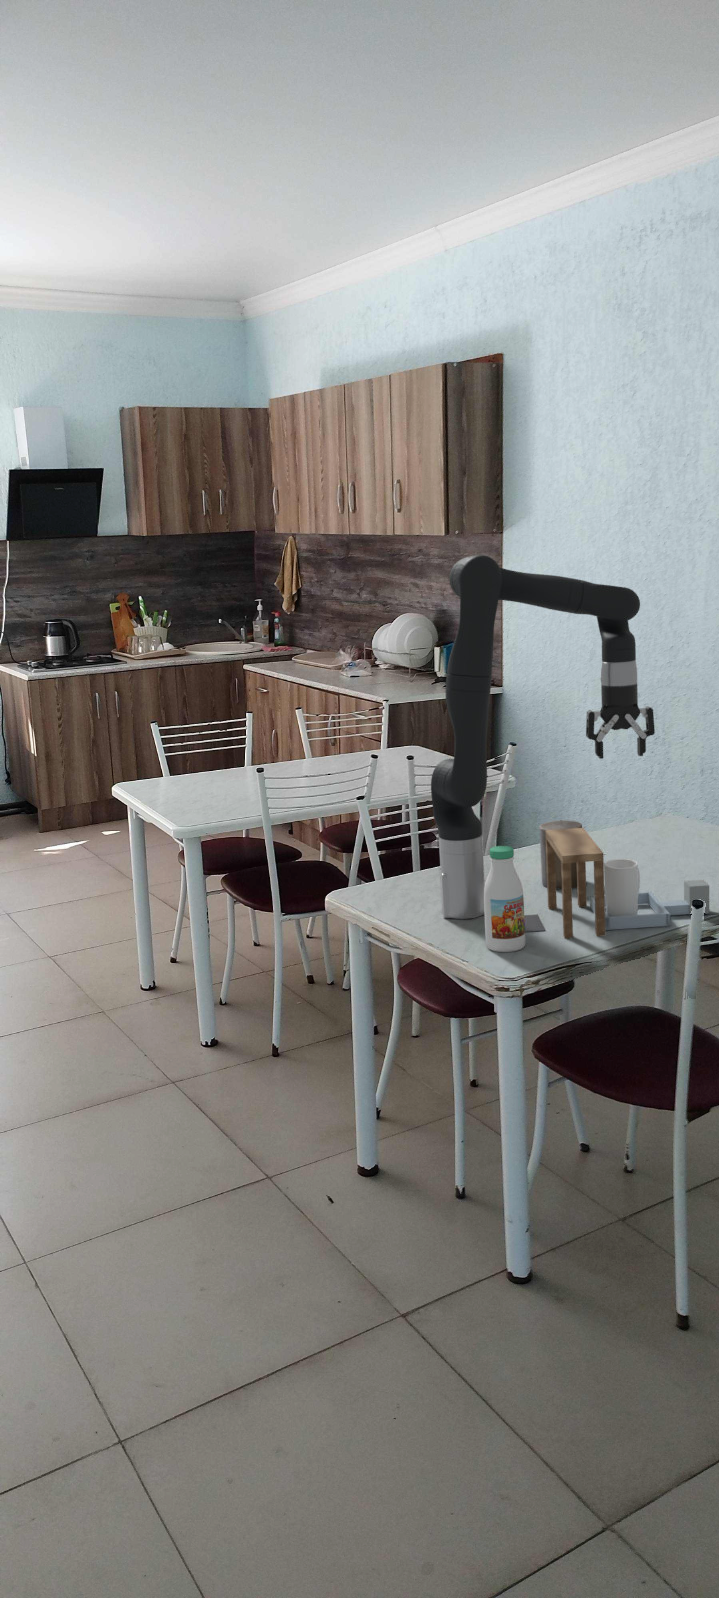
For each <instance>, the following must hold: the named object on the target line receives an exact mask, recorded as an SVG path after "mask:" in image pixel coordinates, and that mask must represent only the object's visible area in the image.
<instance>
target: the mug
mask: <svg viewBox="0 0 719 1598" xmlns="http://www.w3.org/2000/svg"><path fill="white" fill-rule="evenodd" d="M640 884H641V874H640V870H639V865H638V862H637V861H636V860H633V859H628V858H615V859H610V860H607V861H604V895H605V899H606V907H605V913H606V914H607V916H608V917H614V916H629V915H639V914H638V911H639V908H638V907H639V906H638V905H639V904H638V895H639V892H640V886H641V885H640Z"/></svg>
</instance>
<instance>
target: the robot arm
mask: <svg viewBox="0 0 719 1598" xmlns="http://www.w3.org/2000/svg"><path fill="white" fill-rule="evenodd" d="M448 576H449V577H448V579H449V585H450V588H451V590H452V592H453V594H455V595H456V596H457V597H459V623H458V628H457V631H456V635H455V639H454V641H453V644H452V648H451V651H450V655H449V659H448V662H447V669H446V677H445V678H446V680H445V703H446V707H447V712H448V715H449V718H450V722H451V726H452V728H453V735H454V754H453V758H445V759H444V760H442V761H440V762H439V763H438V764H436V766H435V767H434V770H433V772H432V774H431V779H430V792H431V804H432V812H433V813H432V814H433V820H434V823H435V826H436V828H437V832H438V846H439V864H440V865H439V880H440V881H439V882H440V883H439V884H440V897H441V901H440V902H441V911H442V914H443V918H445V919H446V918H447V919H448V918H449V919H450V918H451V919H456V920H458V919H459V920H467V919H469V920H470V919H475V918H478V917H481V916H483V915H485V912H484V887H485V882H486V880H485V865H484V844H483V843H484V841H483V825H482V821H481V820H480V819H479V817H478V816H477V815H476V814H475V811H474V809H473V807H475V806H476V805H478V804H480V802H481V801H482V799H483V798H484V796H485V792H486V790H487V787H488V786H487V785H488V760H487V759H488V758H487V743H488V742H487V739H488V737H487V735H488V724H489V723H488V722H489V708H490V707H489V706H490V697H491V688H492V675H493V674H492V673H493V671H492V670H493V658H494V657H493V655H494V639H495V638H494V632H495V623H496V622H495V621H496V614H497V610H498V605H499V601H505V602H514V603H519V604H526V605H530V606H534V607H539V608H543V609H546V610H547V609H548V610H553V611H558V612H561V613H563V612H564V613H569V614H574V615H590V616H594V617H596V619H597V624H598V625H597V626H598V629H599V635H600V637H601V638H600V639H601V669H600V686H601V687H600V688H601V689H600V691H601V693H600V694H601V708H600V711H599V710H597V711H596V710H595V711H593V710H590V709H589V710H587V711H586V721H585V723H586V724H585V725H586V727H585V736H586V737H587V739H589V740H592V741H594V752H595V756H597V757H598V758H599V759H600V760H602V759H604V741H603V740H604V738H605V736H606V735H608V733H609V732H610V731H611V730H613V731H618V730H620V729H621V730H629V729H630V728H631V729H632V730H633V731H634V732H635V734H636V735H637V738H636V741H637V742H636V746H637V747H636V749H637V756H639V757H643V756H644V754H646V751H647V745H646V742H647V738H648V737H650V736H654V735H655V733H656V732H655V718H654V708H653V707H651V706H645V707H641V708H640V707H639V702H638V701H639V700H638V699H639V698H638V668H637V660H636V659H637V658H636V656H637V655H636V651H637V648H636V647H637V646H636V644H637V643H636V637H635V635H634V634H633V633H632V632H631V631H630V627H629V621H630V620H632V619H633V618H635V616H636V615H638V613H639V611H640V608H641V600H640V598H639V596H638V594H637V592H635V591H634V590H633V589H631V588H628V587H625V586H624V587H623V586H616V585H610V584H609V585H608V584H602V583H601V584H599V583H593V582H591V581H590V582H589V581H587V580H583V579H577V578H571V577H568V576H560V575H551V574H542V573H540V574H539V573H528V572H522V571H515V570H512V569H507V568H504V567H500V566H499V564H498V563H497V561H496V560H495V559H494V558H492V557H491V556H489V555H485V554H477V555H469V556H465V557H463V558H461V559H460V560H458V561H457V562H455V564H453V567H452V568H451V570H450V573H449V575H448ZM640 715H641V716H642V717H643V718H645V729H644V730H643V729H642V727H641V726H640V725H639V724H638V723H637V719H638V717H640ZM598 718H601V719H602V721H603V722H602V724H601V725H600V727H599V729H598V730H597V732H596V733H595V722H597V721H598Z"/></svg>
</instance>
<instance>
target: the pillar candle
mask: <svg viewBox="0 0 719 1598" xmlns="http://www.w3.org/2000/svg"><path fill="white" fill-rule="evenodd" d="M538 828H539V845H540V846H539V848H540V866H541V867H540V873H541V884H542V885H543V887H545V888H547V862H546V833H545V830H558V829H573V828H583V824H582V822H579V821H575V820H566V819H565V820H564V819H560V820H552V821H546V822H545V823H541V824H540V825H539V827H538ZM555 870H556V890H562V873H561V860H560V859H559V857H558V856H557V854H556V852H555ZM571 887H572V889H576V888H577V862H575V863H571Z"/></svg>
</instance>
